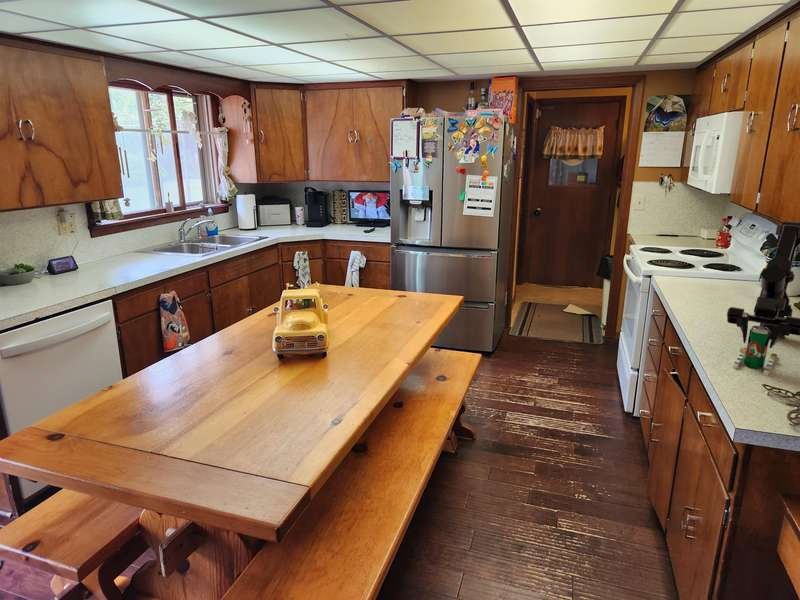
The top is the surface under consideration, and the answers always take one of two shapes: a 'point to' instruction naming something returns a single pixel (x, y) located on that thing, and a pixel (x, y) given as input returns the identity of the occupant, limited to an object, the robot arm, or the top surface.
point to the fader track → (744, 356)
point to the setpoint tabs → (773, 356)
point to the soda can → (757, 347)
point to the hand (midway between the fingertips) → (757, 344)
